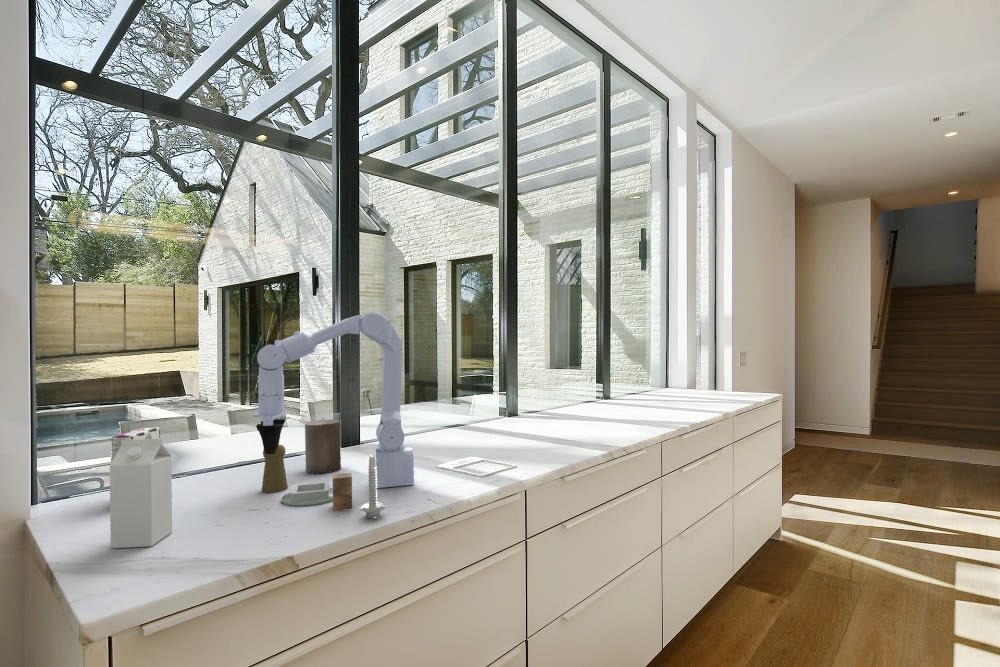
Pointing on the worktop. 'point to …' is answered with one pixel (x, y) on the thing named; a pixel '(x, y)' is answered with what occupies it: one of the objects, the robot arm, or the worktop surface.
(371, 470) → the screw
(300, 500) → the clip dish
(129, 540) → the milk carton
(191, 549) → the worktop surface
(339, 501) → the brown tall block
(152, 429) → the candy bar box
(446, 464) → the photo frame
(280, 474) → the olive cylinder
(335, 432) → the pillar candle
